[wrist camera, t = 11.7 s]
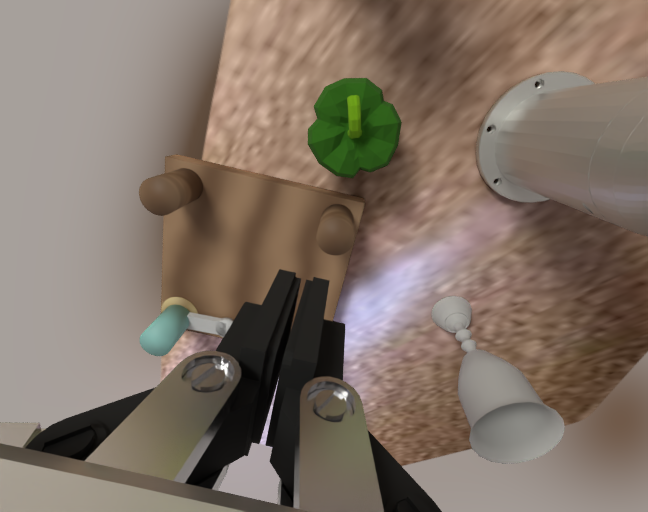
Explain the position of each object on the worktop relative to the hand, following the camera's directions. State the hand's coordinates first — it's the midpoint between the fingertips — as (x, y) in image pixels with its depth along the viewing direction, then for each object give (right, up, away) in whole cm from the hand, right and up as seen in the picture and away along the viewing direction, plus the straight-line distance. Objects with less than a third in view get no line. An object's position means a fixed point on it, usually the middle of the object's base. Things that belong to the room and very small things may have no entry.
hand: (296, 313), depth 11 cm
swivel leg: (-15, -7, +32) cm, 36 cm away
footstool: (-8, +1, +31) cm, 32 cm away
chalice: (+18, -5, +32) cm, 37 cm away
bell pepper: (+4, +16, +25) cm, 29 cm away
